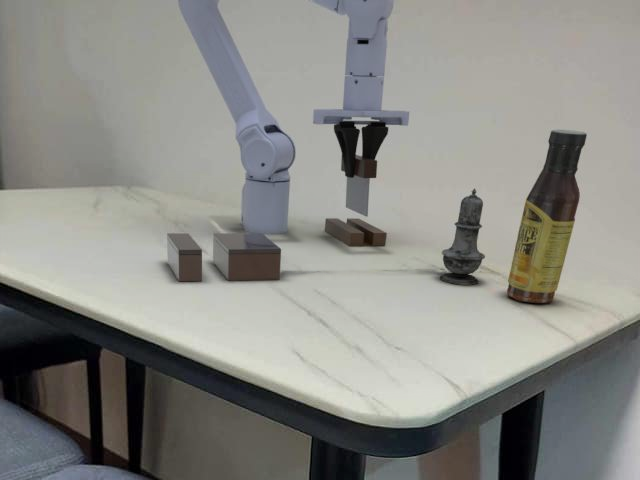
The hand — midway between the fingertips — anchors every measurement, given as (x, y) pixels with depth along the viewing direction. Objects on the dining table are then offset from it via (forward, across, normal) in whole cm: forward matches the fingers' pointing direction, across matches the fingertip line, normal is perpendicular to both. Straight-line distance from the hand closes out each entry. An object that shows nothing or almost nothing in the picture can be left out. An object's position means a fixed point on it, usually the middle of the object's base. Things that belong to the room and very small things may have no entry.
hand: (357, 176), depth 113 cm
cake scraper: (+5, 0, 0) cm, 5 cm away
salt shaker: (+11, +8, -22) cm, 26 cm away
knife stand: (+10, +1, +1) cm, 11 cm away
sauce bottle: (+11, +13, -32) cm, 36 cm away
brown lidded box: (+10, -21, -15) cm, 28 cm away
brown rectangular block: (+10, -30, -15) cm, 35 cm away
